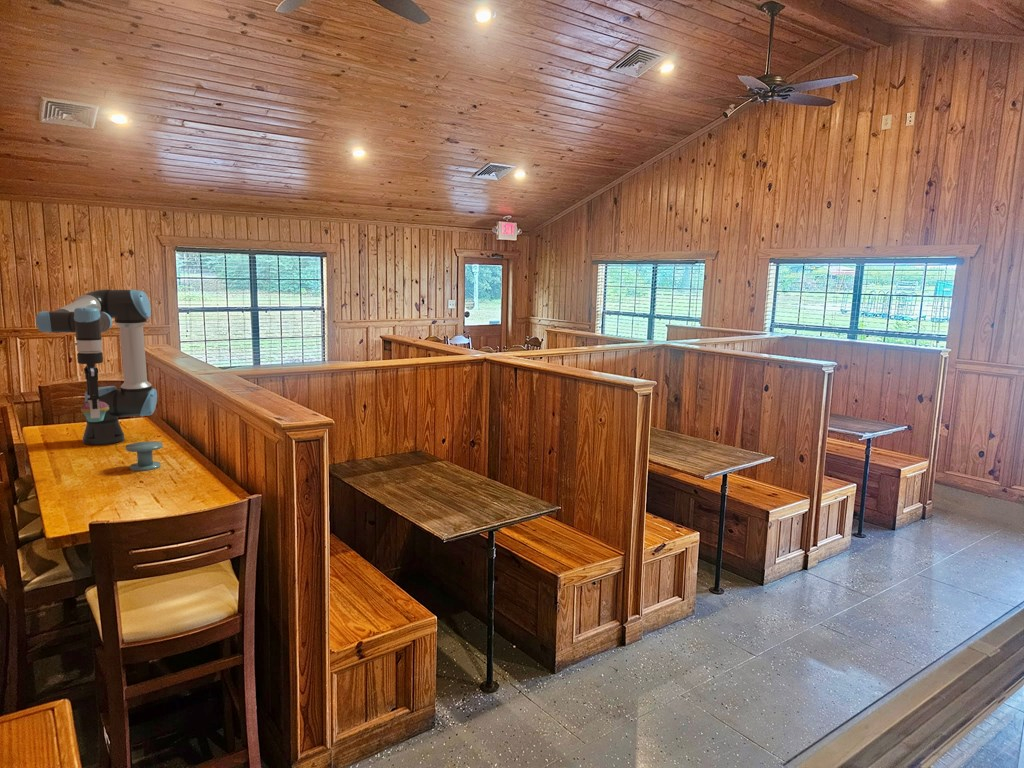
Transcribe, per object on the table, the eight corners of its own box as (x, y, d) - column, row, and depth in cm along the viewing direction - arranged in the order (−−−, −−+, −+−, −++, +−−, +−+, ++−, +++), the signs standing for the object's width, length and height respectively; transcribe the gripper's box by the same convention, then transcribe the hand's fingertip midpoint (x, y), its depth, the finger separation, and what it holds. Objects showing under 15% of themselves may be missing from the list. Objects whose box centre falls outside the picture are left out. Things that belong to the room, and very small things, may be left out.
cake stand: (125, 465, 244) (123, 443, 242) (161, 461, 251) (159, 439, 249) (129, 473, 234) (127, 450, 233) (166, 468, 241) (165, 446, 240)
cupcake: (80, 419, 231) (77, 386, 230) (107, 417, 237) (105, 384, 235) (83, 424, 225) (81, 390, 223) (112, 421, 230) (109, 388, 228)
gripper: (75, 349, 233) (79, 411, 237) (78, 355, 216) (83, 422, 220) (99, 348, 238) (104, 409, 241) (105, 354, 221) (109, 419, 224)
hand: (94, 415), depth 230 cm, fingers closed on cupcake, 8 cm apart
